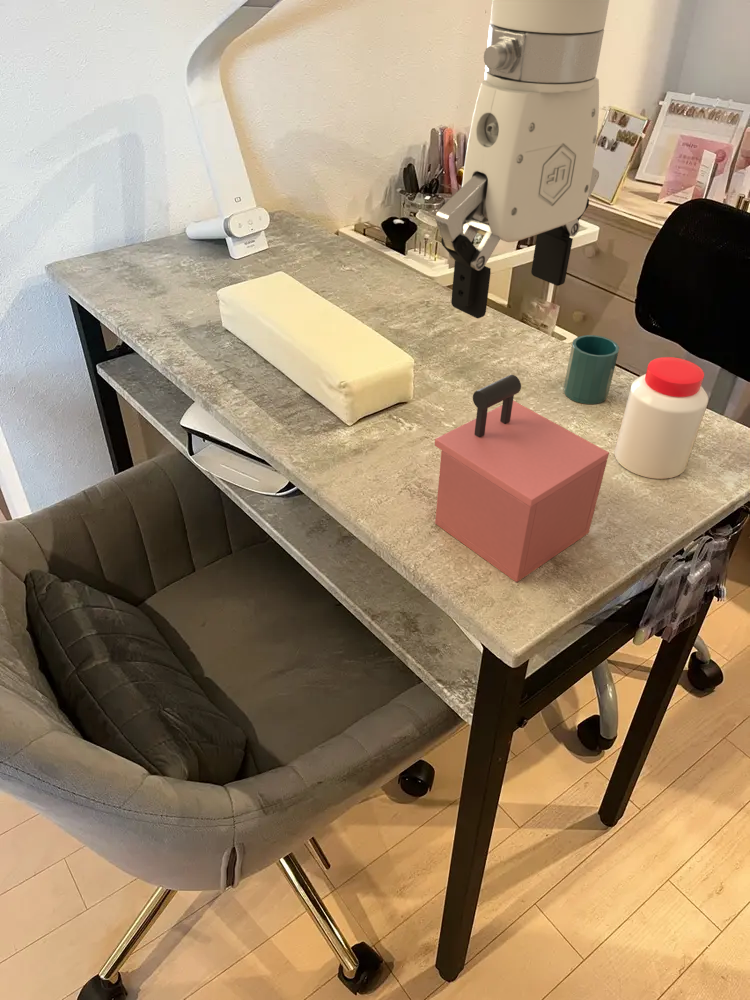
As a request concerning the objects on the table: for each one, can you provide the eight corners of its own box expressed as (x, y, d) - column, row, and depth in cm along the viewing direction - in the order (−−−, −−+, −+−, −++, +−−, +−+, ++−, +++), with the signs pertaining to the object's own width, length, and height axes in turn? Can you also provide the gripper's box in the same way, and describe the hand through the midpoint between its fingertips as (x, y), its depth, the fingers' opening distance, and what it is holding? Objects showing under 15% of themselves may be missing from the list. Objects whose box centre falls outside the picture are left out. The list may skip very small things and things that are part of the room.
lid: (434, 445, 70) (438, 393, 67) (511, 406, 76) (518, 355, 72) (530, 507, 64) (540, 452, 60) (607, 459, 69) (621, 406, 66)
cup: (610, 386, 96) (621, 339, 92) (605, 407, 92) (616, 359, 88) (566, 378, 98) (576, 332, 94) (560, 399, 94) (569, 351, 90)
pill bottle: (600, 456, 85) (621, 368, 78) (638, 430, 89) (662, 344, 82) (662, 488, 80) (691, 398, 73) (700, 459, 84) (730, 371, 77)
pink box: (434, 523, 75) (441, 450, 70) (507, 481, 81) (518, 410, 75) (516, 582, 69) (530, 507, 64) (588, 533, 75) (607, 459, 69)
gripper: (497, 82, 45) (469, 343, 56) (662, 53, 54) (610, 283, 65) (411, 62, 50) (400, 308, 61) (576, 37, 59) (541, 256, 69)
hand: (509, 295), depth 63 cm, fingers open, 9 cm apart
